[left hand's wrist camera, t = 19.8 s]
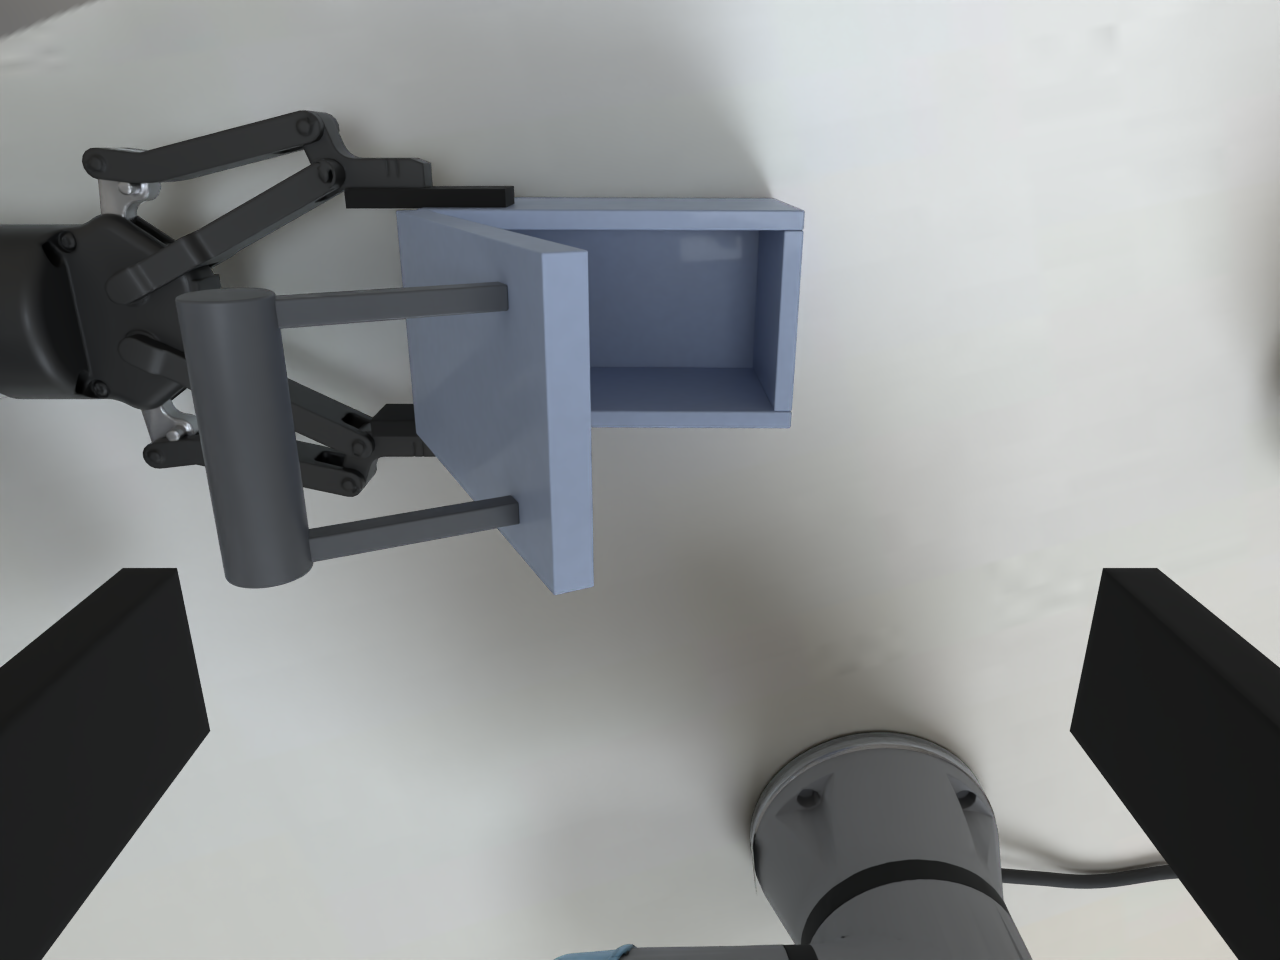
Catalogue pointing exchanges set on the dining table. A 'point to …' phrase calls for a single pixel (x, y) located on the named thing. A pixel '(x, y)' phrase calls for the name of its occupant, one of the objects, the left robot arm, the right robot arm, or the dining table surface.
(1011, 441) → the dining table surface
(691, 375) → the chest
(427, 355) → the lid
